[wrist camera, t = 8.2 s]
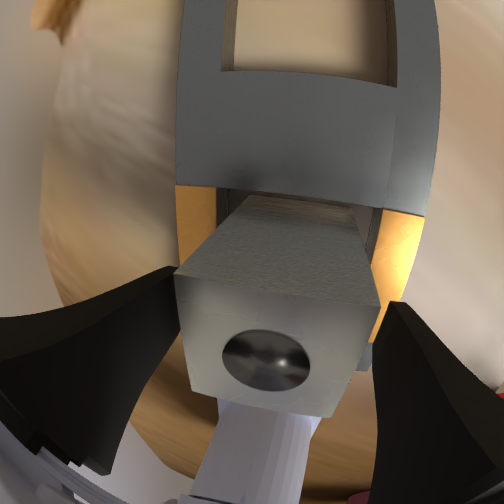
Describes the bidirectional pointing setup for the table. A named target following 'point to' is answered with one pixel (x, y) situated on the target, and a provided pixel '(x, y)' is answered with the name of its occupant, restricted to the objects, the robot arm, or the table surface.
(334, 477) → the table surface
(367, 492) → the plant pot
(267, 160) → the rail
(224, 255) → the grey rectangular block
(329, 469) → the table surface
